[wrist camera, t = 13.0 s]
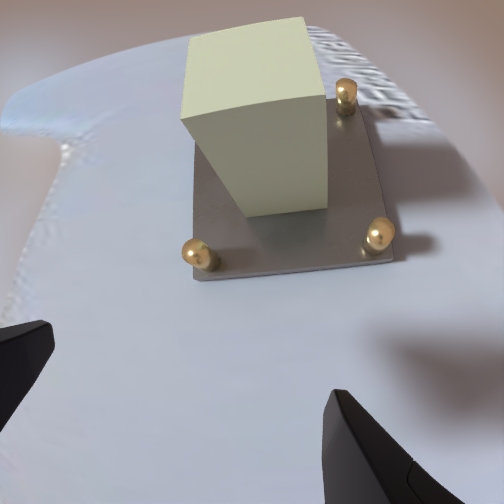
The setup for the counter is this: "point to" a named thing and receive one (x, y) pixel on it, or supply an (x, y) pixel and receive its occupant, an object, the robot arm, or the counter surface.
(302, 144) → the sage block
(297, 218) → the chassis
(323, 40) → the counter surface
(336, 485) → the robot arm
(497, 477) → the counter surface
